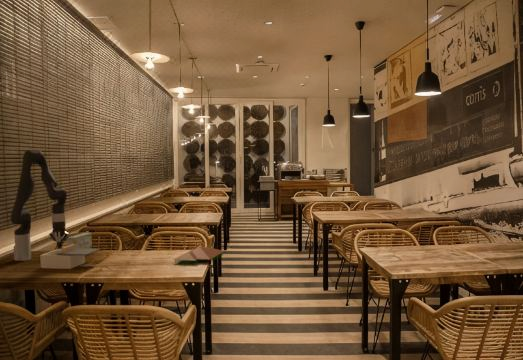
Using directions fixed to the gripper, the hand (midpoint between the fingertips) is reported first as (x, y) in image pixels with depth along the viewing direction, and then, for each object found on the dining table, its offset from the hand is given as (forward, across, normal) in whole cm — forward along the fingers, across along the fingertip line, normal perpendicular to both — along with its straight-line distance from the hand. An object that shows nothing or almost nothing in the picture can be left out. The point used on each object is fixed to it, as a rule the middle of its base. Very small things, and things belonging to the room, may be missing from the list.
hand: (59, 247), depth 291 cm
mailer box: (+11, +2, 0) cm, 11 cm away
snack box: (+11, -1, +24) cm, 26 cm away
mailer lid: (+3, +13, 0) cm, 13 cm away
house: (+11, +84, +25) cm, 88 cm away
